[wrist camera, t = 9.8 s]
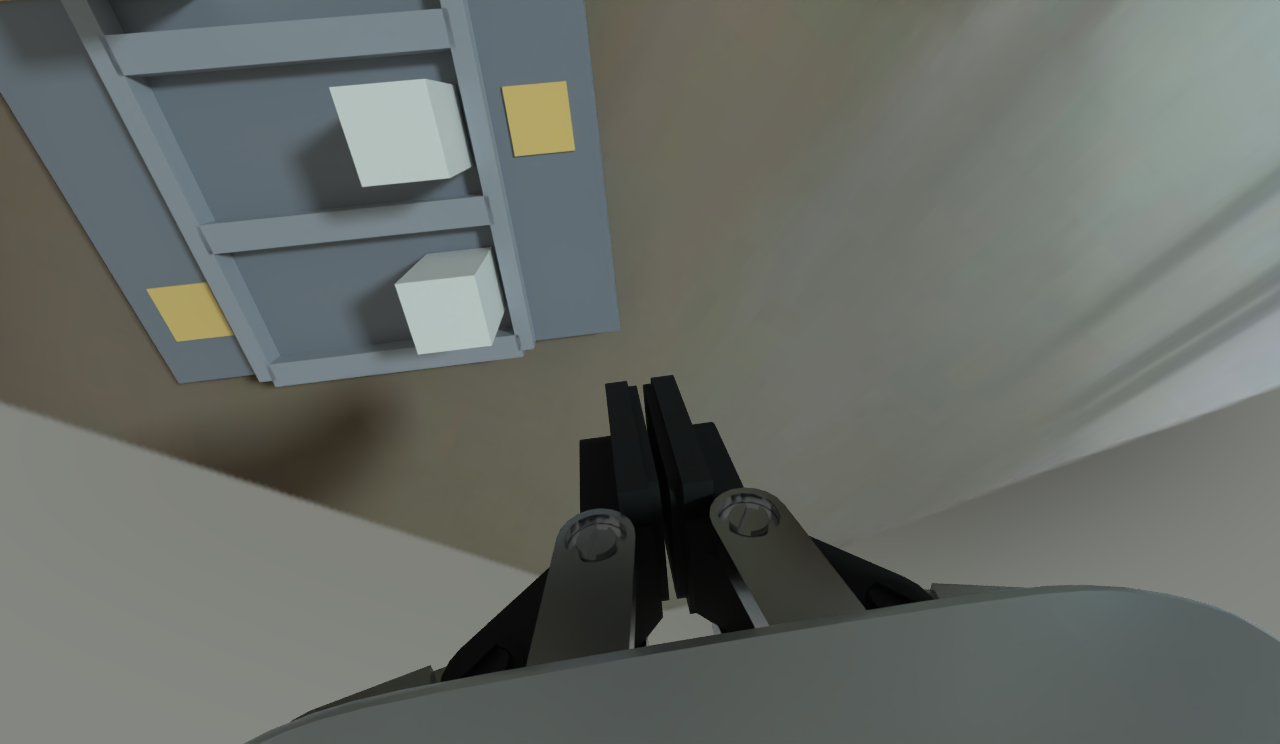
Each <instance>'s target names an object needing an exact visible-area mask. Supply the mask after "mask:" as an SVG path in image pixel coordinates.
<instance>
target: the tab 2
mask: <svg viewBox="0 0 1280 744" xmlns="http://www.w3.org/2000/svg"><path fill="white" fill-rule="evenodd" d="M395 287H396V290H397V293H398V296H399V299H400V302H401V305H402V308H403V311H404V314H405V317H406V320H407V323H408V326H409V329H410V332H411V335H412V338H413V341H414V344H415V347H416V350H417V353H418V355H419V354H427V353H435V352H444V351H452V350H460V349H469V348H477V347H485V346H492V344H493V341H494V339H495V336H496V333H497V330H498V328H499V325H500V322H501V319H502V317H503V314H504V311H505V309H506V306H505V301H504V297H503V292H502V288H501V283H500V279H499V275H498V270H497V266H496V261H495V257H494V252H493V248H492V247H485V248H476V249H467V250H458V251H449V252H439V253H430V254H426V255H425V256H424V257H423V258H422V259H421V260H420V261H418V262H417V263H416V264H415V265H414V266H413V267H412V268H411V269H410V270H409V271H408V272H407V273H406V274H405V275H404V276H403V277H402V278H400V279H399V280H398V281H397V282H396V283H395Z"/></svg>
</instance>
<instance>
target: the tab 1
mask: <svg viewBox="0 0 1280 744" xmlns="http://www.w3.org/2000/svg"><path fill="white" fill-rule="evenodd" d="M329 89H330V92H331V95H332V98H333V101H334V104H335V107H336V110H337V113H338V116H339V119H340V122H341V125H342V128H343V131H344V134H345V137H346V140H347V143H348V146H349V149H350V152H351V155H352V158H353V161H354V164H355V167H356V170H357V173H358V176H359V179H360V182H361V185H362V187H367V186H377V185H387V184H397V183H407V182H417V181H427V180H437V179H447V178H451V177H453V176H455V175H457V174H459V173H461V172H463V171H465V170H466V169H468V168H470V167H472V166H474V164H473V160H472V155H471V151H470V146H469V142H468V138H467V133H466V129H465V124H464V120H463V115H462V111H461V107H460V102H459V98H458V93H457V89H456V85H453V84H448V83H443V82H438V81H434V80H429V79H416V80H404V81H393V82H382V83H371V84H359V85H348V86H337V87H329Z"/></svg>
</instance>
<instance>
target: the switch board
mask: <svg viewBox="0 0 1280 744" xmlns="http://www.w3.org/2000/svg"><path fill="white" fill-rule="evenodd" d="M416 79H429V80H434V81H438V82H443V83H448V84H453V85H456V89H457V93H458V98H459V102H460V107H461V111H462V115H463V120H464V124H465V129H466V133H467V138H468V142H469V146H470V151H471V155H472V160H473V164H474V166H472V167H470V168H468V169H466V170H465V171H463V172H461V173H459V174H457V175H455V176H453V177H451V178H447V179H437V180H427V181H417V182H407V183H397V184H387V185H377V186H367V187H362V185H361V182H360V179H359V176H358V173H357V170H356V167H355V164H354V161H353V158H352V155H351V152H350V149H349V146H348V143H347V140H346V137H345V134H344V131H343V128H342V125H341V122H340V119H339V116H338V113H337V110H336V107H335V104H334V101H333V98H332V95H331V92H330V89H329V87H337V86H348V85H359V84H371V83H382V82H393V81H404V80H416ZM0 92H1V94H2V96H3V97H4V99H5V101H6V102H7V104H8V105H9V107H10V109H11V110H12V112H13V114H14V115H15V117H16V119H17V120H18V122H19V123H20V125H21V127H22V128H23V130H24V132H25V133H26V135H27V136H28V138H29V140H30V141H31V143H32V145H33V146H34V148H35V150H36V151H37V153H38V154H39V156H40V158H41V159H42V161H43V163H44V164H45V166H46V167H47V169H48V171H49V172H50V174H51V176H52V177H53V179H54V181H55V182H56V184H57V185H58V187H59V189H60V190H61V192H62V194H63V195H64V197H65V198H66V200H67V202H68V203H69V205H70V207H71V208H72V210H73V212H74V213H75V215H76V216H77V218H78V220H79V221H80V223H81V225H82V226H83V228H84V229H85V231H86V233H87V234H88V236H89V238H90V239H91V241H92V243H93V244H94V246H95V247H96V249H97V251H98V252H99V254H100V256H101V257H102V259H103V261H104V262H105V264H106V265H107V267H108V269H109V270H110V272H111V274H112V275H113V277H114V278H115V280H116V282H117V283H118V285H119V287H120V288H121V290H122V292H123V293H124V295H125V296H126V298H127V300H128V301H129V303H130V305H131V306H132V308H133V309H134V311H135V313H136V314H137V316H138V318H139V319H140V321H141V323H142V324H143V326H144V327H145V329H146V331H147V332H148V334H149V336H150V337H151V339H152V340H153V342H154V344H155V345H156V347H157V349H158V350H159V352H160V354H161V355H162V357H163V358H164V360H165V362H166V363H167V365H168V367H169V368H170V370H171V371H172V373H173V375H174V376H175V378H176V380H177V381H178V383H179V384H181V383H189V382H197V381H206V380H214V379H222V378H230V377H239V376H247V375H255V374H256V376H257V378H258V380H259V382H266V381H273V383H274V385H275V387H280V386H288V385H296V384H304V383H312V382H320V381H328V380H337V379H345V378H353V377H361V376H369V375H377V374H386V373H394V372H402V371H410V370H418V369H426V368H435V367H443V366H451V365H459V364H467V363H475V362H483V361H492V360H500V359H508V358H516V357H524V353H525V350H529V349H534V348H535V343H536V341H537V340H545V339H553V338H561V337H570V336H578V335H586V334H594V333H603V332H611V331H619V330H620V321H619V312H618V303H617V293H616V284H615V275H614V266H613V257H612V248H611V239H610V230H609V221H608V212H607V203H606V194H605V185H604V176H603V167H602V158H601V148H600V139H599V130H598V121H597V112H596V103H595V94H594V85H593V76H592V67H591V58H590V49H589V40H588V31H587V22H586V12H585V3H584V0H0ZM485 247H492V248H493V252H494V257H495V261H496V266H497V270H498V275H499V279H500V283H501V288H502V292H503V297H504V301H505V306H506V309H505V311H504V314H503V317H502V319H501V322H500V325H499V328H498V330H497V333H496V336H495V339H494V341H493V344H492V346H485V347H477V348H469V349H460V350H452V351H444V352H435V353H427V354H419V355H418V353H417V350H416V347H415V344H414V341H413V338H412V335H411V332H410V329H409V326H408V323H407V320H406V317H405V314H404V311H403V308H402V305H401V302H400V299H399V296H398V293H397V290H396V287H395V283H396V282H397V281H398V280H399V279H400V278H402V277H403V276H404V275H405V274H406V273H407V272H408V271H409V270H410V269H411V268H412V267H413V266H414V265H415V264H416V263H417V262H418V261H420V260H421V259H422V258H423V257H424V256H425V255H426V254H430V253H439V252H449V251H458V250H467V249H476V248H485Z"/></svg>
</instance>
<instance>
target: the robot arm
mask: <svg viewBox="0 0 1280 744" xmlns="http://www.w3.org/2000/svg"><path fill="white" fill-rule="evenodd" d="M605 388H606V397H607V406H608V415H609V424H610V433H611V436H606V437H598V438H591V439H584V440H580V514H577V515H576V516H574V517H573V518H571V519H570V520H568V521H567V522H566V523H565V525H564V526H563V527H562V528H561V529H560V531H559V534H558V536H557V538H556V542H555V547H554V551H553V555H552V559H551V563H550V567H549V568H548V569H547V570H546V571H545V572H544V573H543V574H542V575H540V576H539V577H538V578H537V579H536V580H535V581H534V582H533V583H532V584H531V585H530V586H529V587H527V589H525V590H524V591H523V592H522V593H521V594H520V595H519V596H518V597H516V598H515V599H514V600H513V601H512V602H511V603H510V604H509V605H508V606H507V607H506V608H504V609H503V610H502V611H501V612H500V613H499V614H498V615H497V616H496V617H495V618H494V619H492V620H491V621H490V622H489V623H488V624H487V625H486V626H485V627H484V628H482V629H481V630H480V631H479V632H478V633H477V634H476V635H475V636H474V637H473V638H472V639H470V640H469V641H468V642H467V643H466V644H465V645H464V646H463V647H462V648H461V649H460V650H459V651H458V652H457V653H456V654H455V656H454V657H453V658H452V659H451V660H450V661H449V663H448V665H447V666H446V667H444V668H441V669H438V670H436V671H433V669H432V667H431V665H430V666H427V667H424V668H422V669H419V670H416V671H414V672H411V673H409V674H406V675H403V676H401V677H398V678H395V679H393V680H390V681H388V682H385V683H382V684H379V685H377V686H375V687H372V688H369V689H367V690H364V691H361V692H359V693H356V694H353V695H350V696H348V697H345V698H342V699H340V700H337V701H335V702H332V703H329V704H327V705H324V706H321V707H319V708H316V709H314V710H311V711H309V712H307V713H305V714H303V715H301V716H299V717H297V718H296V719H294V720H292V721H291V722H290V723H287V724H285V725H282V726H280V727H277V728H275V729H272V730H270V731H268V732H266V733H264V734H262V735H260V736H258V737H256V738H254V739H252V740H250V741H248V742H246V743H244V744H1280V638H1279V637H1277V636H1276V635H1274V634H1272V633H1271V632H1269V631H1267V630H1265V629H1264V628H1262V627H1260V626H1258V625H1256V624H1254V623H1252V622H1250V621H1248V620H1246V619H1244V618H1242V617H1240V616H1238V615H1235V614H1233V613H1231V612H1228V611H1226V610H1223V609H1221V608H1218V607H1215V606H1212V605H1209V604H1206V603H1202V602H1199V601H1195V600H1192V599H1187V598H1183V597H1179V596H1175V595H1171V594H1165V593H1159V592H1152V591H1146V590H1140V589H1134V588H1126V587H1111V586H1094V585H1061V586H1060V585H1058V586H1041V587H1030V588H1022V587H1002V586H1001V587H999V586H980V585H958V584H937V583H932V585H931V589H930V590H924V589H922V588H921V587H920V586H919V585H918V584H916V583H914V582H912V581H911V580H909V579H907V578H905V577H903V576H901V575H899V574H896V573H894V572H891V571H889V570H887V569H885V568H882V567H880V566H878V565H875V564H873V563H871V562H868V561H866V560H864V559H861V558H859V557H857V556H854V555H852V554H850V553H848V552H845V551H843V550H841V549H838V548H836V547H834V546H831V545H829V544H827V543H824V542H822V541H820V540H818V539H815V538H813V537H811V536H808V534H807V533H806V532H805V531H804V529H803V528H802V527H801V525H800V524H799V523H798V522H797V520H796V519H795V518H794V516H793V515H792V514H791V513H790V511H789V510H788V509H787V507H786V506H785V505H784V504H783V503H782V502H781V501H780V500H779V499H778V498H777V497H775V496H774V495H772V494H770V493H768V492H766V491H762V490H759V489H755V488H744V487H743V485H742V482H741V480H740V478H739V476H738V474H737V472H736V469H735V467H734V465H733V463H732V461H731V458H730V456H729V454H728V452H727V450H726V448H725V445H724V443H723V441H722V439H721V437H720V434H719V432H718V430H717V428H716V426H715V424H714V423H713V422H708V423H701V424H693V425H692V423H691V420H690V417H689V415H688V412H687V410H686V407H685V404H684V402H683V399H682V397H681V394H680V391H679V389H678V386H677V384H676V381H675V378H674V376H673V375H669V376H661V377H654V378H651V384H645V385H643V392H644V403H645V414H646V425H647V430H646V425H645V421H644V417H643V412H642V408H641V403H640V399H639V395H638V390H637V386H629V387H628V384H627V381H623V382H615V383H607V384H605ZM664 540H665V543H664ZM665 545H666V550H667V554H668V559H669V564H670V569H671V573H672V578H673V583H674V588H675V592H676V596H677V599H679V598H685V597H686V598H687V603H688V607H689V611H690V614H693V613H697V614H699V615H701V616H703V617H704V618H706V619H707V620H709V621H711V622H712V628H713V632H714V635H711V636H706V637H699V638H693V639H687V640H682V641H675V642H670V643H663V644H658V645H652V646H649V645H648V636H649V634H650V633H651V632H652V630H653V629H654V628H655V627H656V625H657V624H658V623H659V622H660V620H661V619H662V618H663V612H662V602H661V601H667V600H669V590H668V578H667V566H666V555H665Z"/></svg>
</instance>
